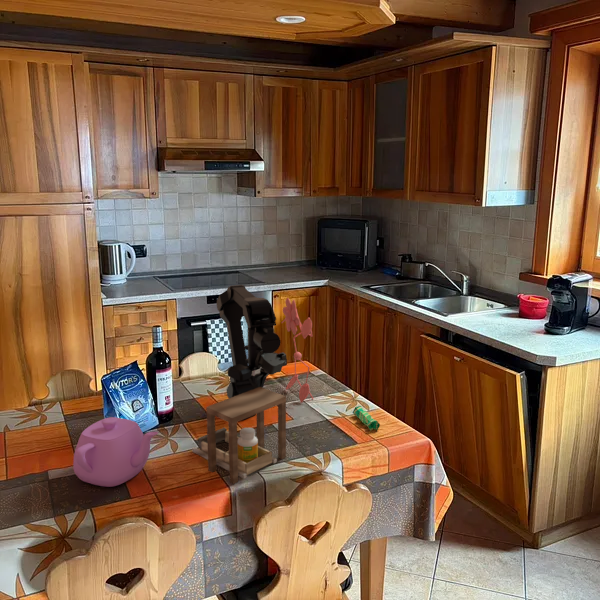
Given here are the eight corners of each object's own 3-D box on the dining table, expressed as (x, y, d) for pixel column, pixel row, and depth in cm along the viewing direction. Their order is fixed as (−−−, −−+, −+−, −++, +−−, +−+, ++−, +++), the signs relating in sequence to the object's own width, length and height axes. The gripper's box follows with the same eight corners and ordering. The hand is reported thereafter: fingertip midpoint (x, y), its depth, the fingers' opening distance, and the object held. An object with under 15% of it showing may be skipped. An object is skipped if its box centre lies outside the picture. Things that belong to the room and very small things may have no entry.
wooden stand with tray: (181, 455, 166) (179, 394, 162) (234, 433, 180) (232, 376, 176) (233, 484, 152) (232, 418, 148) (285, 457, 166) (285, 396, 162)
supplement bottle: (242, 470, 159) (241, 436, 157) (234, 461, 163) (234, 428, 161) (261, 466, 161) (260, 432, 159) (253, 457, 166) (252, 424, 164)
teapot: (52, 490, 149) (47, 434, 145) (108, 452, 168) (104, 402, 165) (129, 510, 141) (125, 451, 137) (178, 468, 160) (176, 415, 156)
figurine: (296, 381, 222) (295, 288, 213) (325, 408, 198) (324, 305, 190) (257, 387, 216) (253, 292, 208) (281, 416, 193) (279, 310, 184)
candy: (382, 427, 183) (375, 418, 181) (373, 434, 182) (366, 425, 181) (365, 412, 194) (359, 403, 192) (357, 418, 193) (350, 409, 192)
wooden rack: (199, 450, 169) (198, 438, 168) (224, 439, 176) (223, 427, 175) (246, 475, 156) (246, 462, 155) (272, 462, 163) (272, 449, 162)
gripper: (253, 356, 161) (253, 411, 164) (300, 341, 174) (300, 392, 178) (225, 347, 168) (227, 400, 172) (273, 333, 181) (273, 382, 185)
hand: (258, 393), depth 176 cm, fingers closed
